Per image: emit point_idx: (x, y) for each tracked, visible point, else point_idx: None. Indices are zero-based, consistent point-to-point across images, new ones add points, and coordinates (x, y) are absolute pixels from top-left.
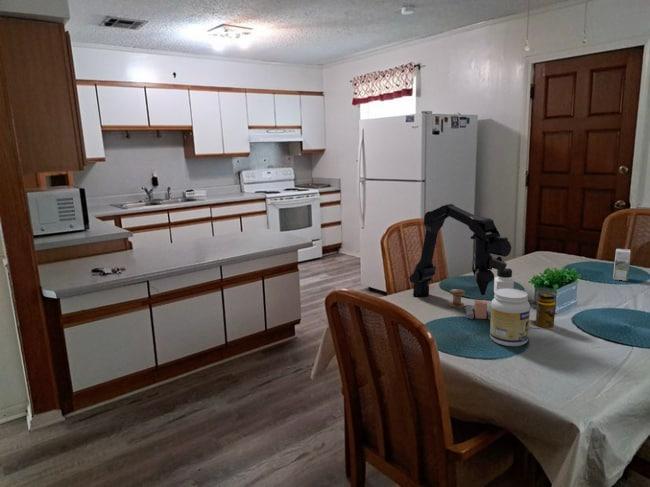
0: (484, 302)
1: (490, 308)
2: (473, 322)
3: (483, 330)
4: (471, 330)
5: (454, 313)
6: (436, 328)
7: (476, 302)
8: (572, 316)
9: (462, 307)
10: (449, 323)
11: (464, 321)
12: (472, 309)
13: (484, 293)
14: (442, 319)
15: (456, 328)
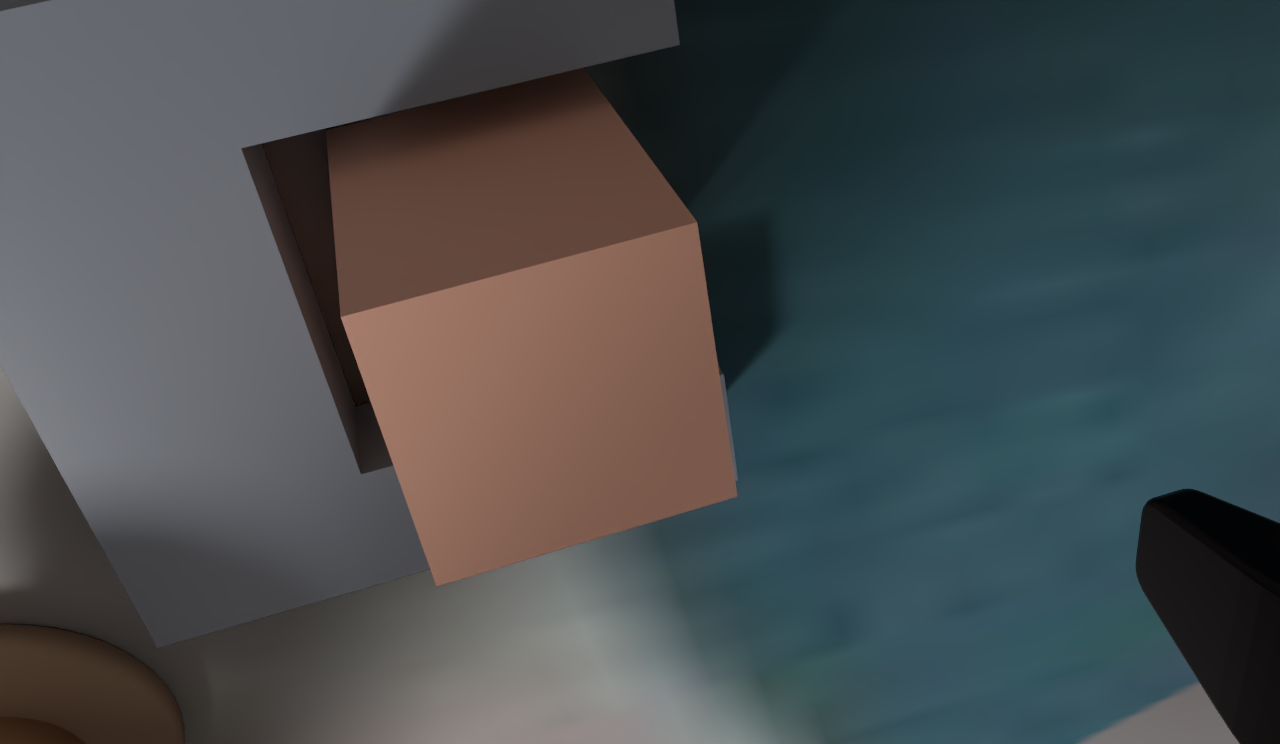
0: (572, 310)
1: (121, 48)
2: (871, 281)
3: (1243, 46)
4: (1238, 246)
5: (489, 659)
6: (1164, 668)
7: (642, 503)
8: None
9: (81, 642)
10: (972, 593)
11: (849, 429)
12: (356, 452)
13: (1265, 530)
14: (825, 713)
15: (1159, 463)
